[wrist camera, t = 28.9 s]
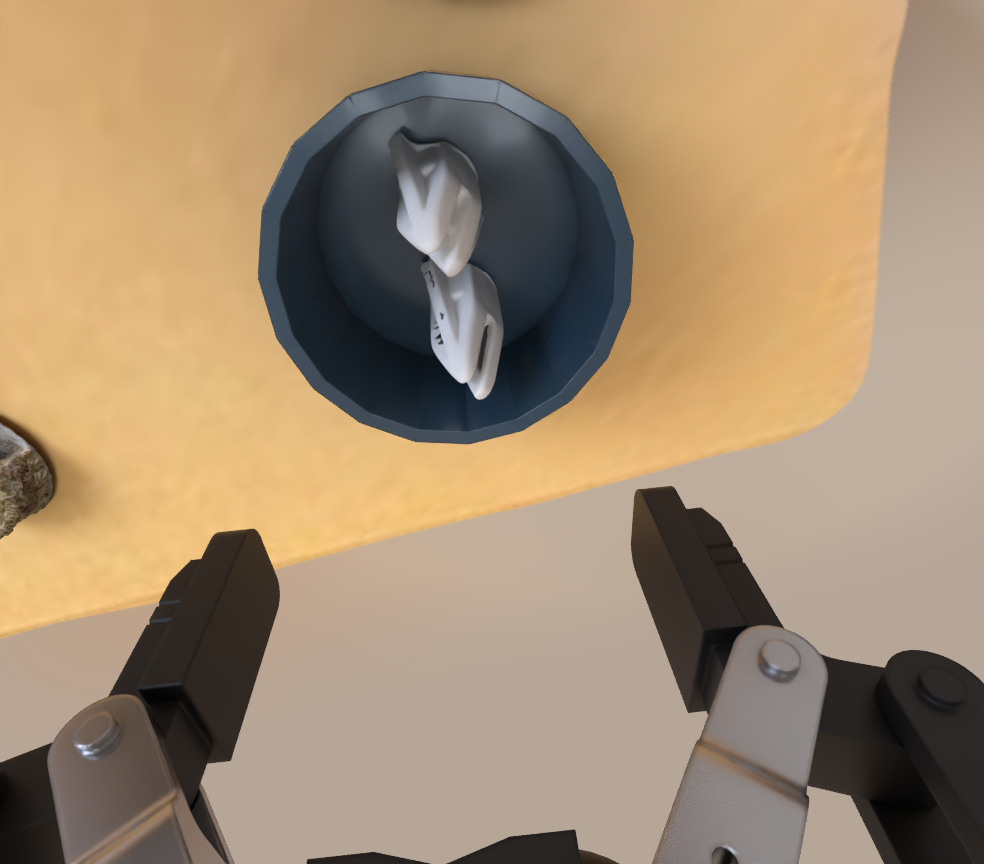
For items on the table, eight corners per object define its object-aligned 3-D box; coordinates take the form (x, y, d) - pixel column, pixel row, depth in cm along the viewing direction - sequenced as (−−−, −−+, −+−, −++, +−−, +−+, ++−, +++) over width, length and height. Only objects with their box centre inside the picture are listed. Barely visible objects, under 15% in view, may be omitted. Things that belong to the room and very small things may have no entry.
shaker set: (388, 131, 30) (359, 160, 21) (466, 114, 30) (473, 136, 20) (440, 340, 36) (436, 434, 27) (504, 327, 36) (523, 417, 27)
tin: (342, 377, 38) (313, 460, 30) (269, 85, 29) (200, 93, 21) (587, 352, 38) (624, 428, 30) (590, 54, 29) (644, 49, 21)
